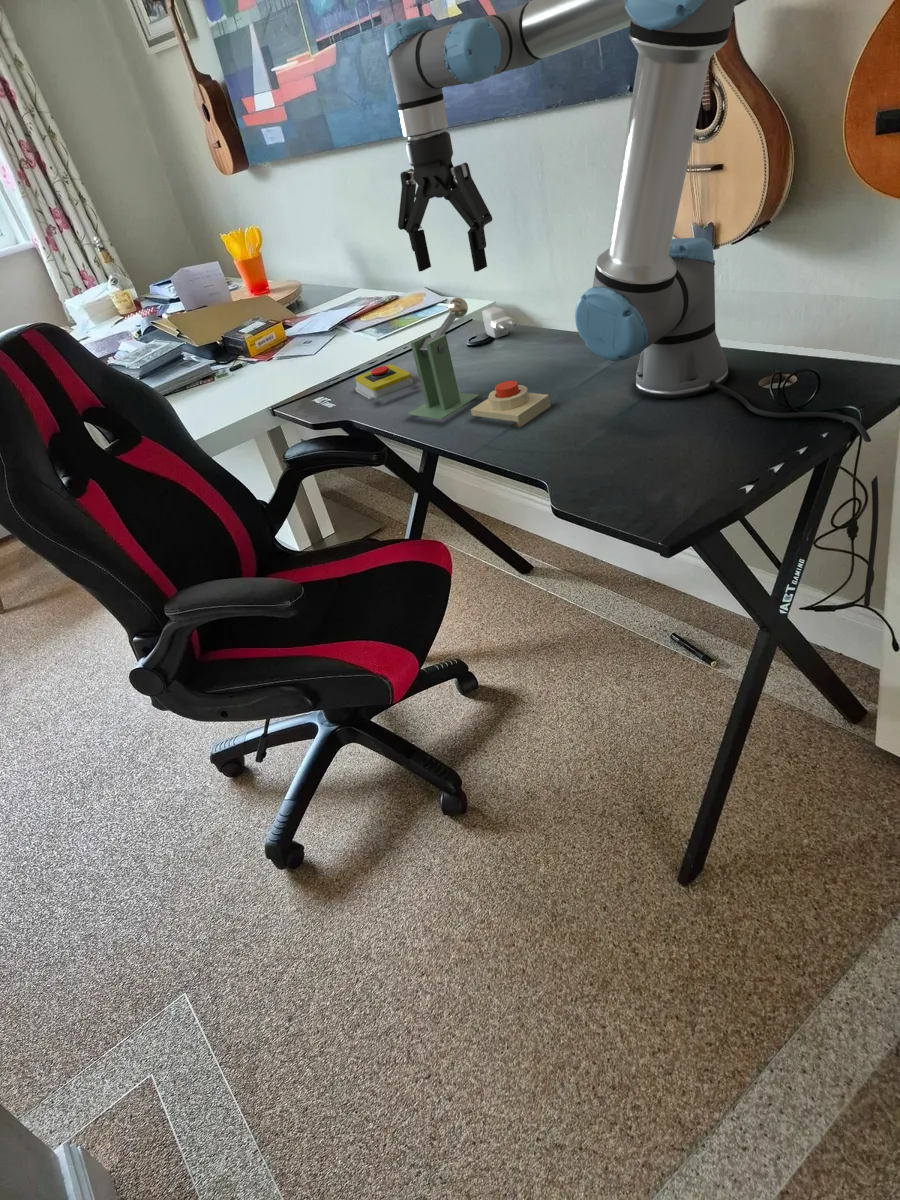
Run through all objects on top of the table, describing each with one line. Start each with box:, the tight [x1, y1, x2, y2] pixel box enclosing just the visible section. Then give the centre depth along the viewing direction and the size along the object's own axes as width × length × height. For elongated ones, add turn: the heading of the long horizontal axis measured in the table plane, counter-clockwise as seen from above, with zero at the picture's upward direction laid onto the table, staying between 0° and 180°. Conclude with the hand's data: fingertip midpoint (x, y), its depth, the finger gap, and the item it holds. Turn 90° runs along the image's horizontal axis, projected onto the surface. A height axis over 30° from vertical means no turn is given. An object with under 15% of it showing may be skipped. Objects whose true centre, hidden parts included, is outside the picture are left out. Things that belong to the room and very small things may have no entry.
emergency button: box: [355, 363, 414, 400], centre depth 164 cm, size 9×4×15 cm
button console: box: [470, 384, 552, 428], centre depth 139 cm, size 11×9×4 cm
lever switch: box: [419, 297, 469, 359], centre depth 143 cm, size 13×4×4 cm, turn 137°
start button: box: [494, 380, 519, 398], centre depth 137 cm, size 4×4×2 cm
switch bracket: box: [407, 333, 480, 420], centre depth 145 cm, size 11×9×14 cm
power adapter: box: [481, 306, 517, 339], centre depth 176 cm, size 11×5×6 cm, turn 22°
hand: (452, 269), depth 140 cm, fingers open, 13 cm apart
